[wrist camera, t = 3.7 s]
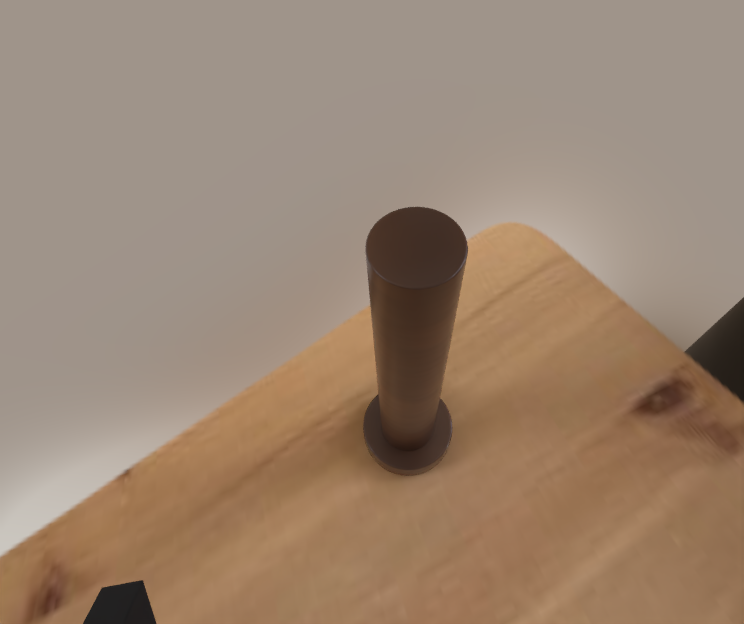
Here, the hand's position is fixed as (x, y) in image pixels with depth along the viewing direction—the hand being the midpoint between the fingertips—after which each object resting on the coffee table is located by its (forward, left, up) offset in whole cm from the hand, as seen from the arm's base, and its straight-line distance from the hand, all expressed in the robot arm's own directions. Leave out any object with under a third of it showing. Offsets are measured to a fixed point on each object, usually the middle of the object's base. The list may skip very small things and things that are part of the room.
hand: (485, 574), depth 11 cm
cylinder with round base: (-1, -7, -15) cm, 17 cm away
